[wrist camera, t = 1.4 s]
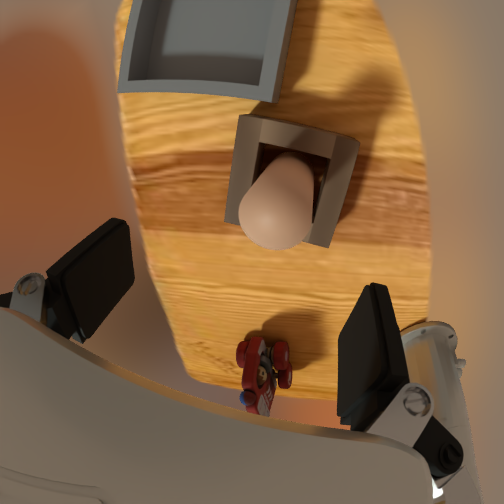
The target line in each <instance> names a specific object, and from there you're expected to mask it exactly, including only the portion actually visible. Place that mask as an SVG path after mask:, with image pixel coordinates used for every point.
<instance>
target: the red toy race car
mask: <svg viewBox="0 0 504 504" xmlns="http://www.w3.org/2000/svg"><path fill="white" fill-rule="evenodd" d="M236 361H237V364H238V366H239V367H240V368H243V376H242V388H243V390H244V391H243V392H241V394H240V401H241V403H243V404H244V405H246V410H247V412H249V413H253V414H258V415H262V416H266V417H269V416H270V408H271V405H272V401H273V398H274V394H275V390H276V386H277V381H276V378H278V385H279V387H280V388H282V389H288V388H290V386H291V383H292V366H291V364H290V363H288V361H289V347H288V343H287V342H276V343H275V345H274V347H273V346H272V347H269V348H266V345H265V342H264V339H263V338H262V337H252V338H251V340H250V342H249V341H241V342H240V343H239V344H238V347H237V350H236ZM272 364H274V368H275V369H276V370H278V373H275V370H274V369H273V368H272Z"/></svg>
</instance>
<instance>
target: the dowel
mask: <svg viewBox="0 0 504 504" xmlns="http://www.w3.org/2000/svg"><path fill="white" fill-rule="evenodd" d="M313 190H314V169H313V166H312V164H311V162H310V161H309V160H308V159H307V158H306V157H305V156H304V155H302V154H300V153H297V152H284V153H281V154H279V155H278V156H276V157H275V158H274V159H273V161H272V162H271V163H270V164H269V165H268V167H267V168H266V169H265V170H264V172H263V173H262V174H261V175H260V177H259V178H258V179H257V180H256V182H255V183H254V184H253V185H252V187H251V188H250V189H249V190H248V192H247V193H246V194H245V195H244V197H243V199H242V200H241V203H240V206H239V213H238V214H239V222H240V225H241V227H242V229H243V231H244V233H245V234H246V235H247V237H248V238H249V239H250V240H252V241H253V242H254V243H256V244H257V245H259V246H261V247H263V248H267V249H271V250H285V249H289V248H292V247H294V246H296V245H297V244H299V243H300V242H301V241H302V240H303V239H304V238H305V237H306V236H307V234H308V232H309V230H310V228H311V223H312V209H313Z"/></svg>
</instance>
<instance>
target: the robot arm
mask: <svg viewBox="0 0 504 504" xmlns="http://www.w3.org/2000/svg"><path fill="white" fill-rule="evenodd" d="M46 273H47V276H48V278H47V279H46V280H45V278H44V276H43V275H41V274H39V273H30V274H27V275H25V276H23V277H22V278H20V279H19V280H18V281H17V283H16V285H15V287H14V290H13V292H9V293H6V294H1V295H0V504H484V503H483V497H482V493H481V487H480V483H479V477H478V472H477V467H476V461H475V454H474V448H473V443H472V442H473V441H472V436H471V429H470V423H469V418H468V412H467V408H466V403H465V399H464V394H463V391H462V386H461V383H460V379H459V378H460V377H461V376H462V369H461V368H463V367H464V366H465V364H466V360H465V359H457V357H456V354H455V349H456V346H457V336H456V333H455V331H454V329H453V328H452V327H451V326H450V325H449V324H447V323H444V322H439V321H430V322H423V323H420V324H416V325H414V326H411V327H409V328H407V329H405V330H403V331H402V332H400V330H399V327H398V325H397V322H396V318H395V314H394V310H393V306H392V302H391V299H390V295H389V291H388V288H387V286H386V285H382V284H378V283H374V282H373V283H371V284H370V286H369V285H366V286H365V287H364V289H363V291H362V293H361V295H360V297H359V299H358V301H357V303H356V305H355V307H354V309H353V311H352V312H351V314H350V316H349V318H348V320H347V322H346V323H345V325H344V327H343V329H342V331H341V332H340V335H339V338H338V396H337V416H340V417H341V420H340V424H342V425H351V428H350V430H344V429H336V428H327V427H321V426H315V425H308V424H302V423H296V422H292V421H286V420H281V419H276V418H271V417H266V416H262V415H258V414H253V413H249V412H245V411H241V410H237V409H234V408H230V407H226V406H223V405H219V404H216V403H213V402H209V401H206V400H203V399H200V398H197V397H194V396H191V395H188V394H185V393H183V392H180V391H177V390H174V389H172V388H169V387H166V386H164V385H161V384H159V383H156V382H153V381H151V380H149V379H146V378H144V377H142V376H139V375H137V374H135V373H133V372H130V371H128V370H126V369H124V368H121V367H119V366H117V365H115V364H113V363H111V362H109V361H107V360H105V359H103V358H101V357H99V356H97V355H95V354H93V353H91V352H89V351H88V350H86V349H84V348H82V347H80V346H78V345H77V344H75V343H73V342H71V341H70V340H69V339H70V337H71V336H72V337H73V339H75V340H76V341H78V342H80V343H82V344H83V343H84V342H85V340H86V339H88V338H90V337H91V336H92V335H93V334H94V332H95V331H96V330H97V328H98V327H99V326H100V325H101V323H102V322H103V321H104V319H105V318H106V317H107V316H108V314H109V313H110V312H111V311H112V309H113V308H114V307H115V306H116V304H117V303H118V302H119V301H120V299H121V298H122V297H123V296H124V295H125V293H126V292H127V291H128V290H129V289H130V287H131V286H132V285H133V283H134V279H135V276H134V268H133V261H132V251H131V241H130V229H129V226H128V225H127V223H126V221H124V220H121V219H117V218H111V219H109V220H108V221H107V222H105V223H104V224H103V225H102V226H100V227H99V228H97V229H96V230H95V231H94V232H92V233H91V234H90V235H88V236H87V237H86V238H85V239H83V240H82V241H81V242H80V243H78V244H77V245H76V246H75V247H73V248H72V249H71V250H70V251H69V252H67V253H66V254H65V255H64V256H63V257H62V258H60V259H59V260H58V261H57V262H56V263H55V264H53V265H52V266H51V267H50V268H49V269H48V270H47V271H46ZM457 367H459V368H457Z"/></svg>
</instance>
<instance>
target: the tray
mask: <svg viewBox="0 0 504 504" xmlns="http://www.w3.org/2000/svg"><path fill="white" fill-rule="evenodd" d="M297 1H298V0H133V3H132V7H131V11H130V16H129V20H128V25H127V29H126V35H125V40H124V46H123V52H122V58H121V65H120V73H119V81H118V91H117V93H130V92H178V93H197V94H210V95H221V96H230V97H238V98H246V99H253V100H259V101H265V102H271V103H278V101H279V96H280V91H281V86H282V80H283V75H284V70H285V64H286V59H287V54H288V48H289V43H290V38H291V32H292V27H293V22H294V17H295V11H296V6H297Z"/></svg>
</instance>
